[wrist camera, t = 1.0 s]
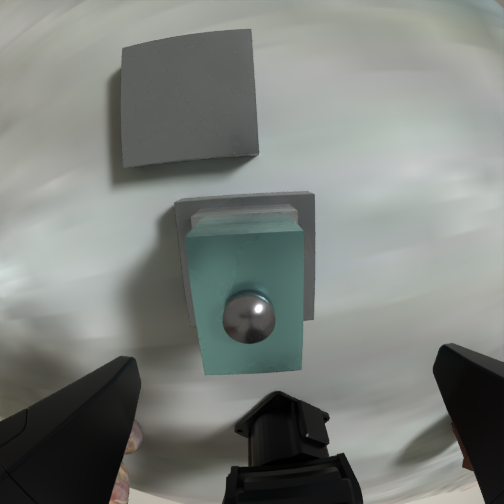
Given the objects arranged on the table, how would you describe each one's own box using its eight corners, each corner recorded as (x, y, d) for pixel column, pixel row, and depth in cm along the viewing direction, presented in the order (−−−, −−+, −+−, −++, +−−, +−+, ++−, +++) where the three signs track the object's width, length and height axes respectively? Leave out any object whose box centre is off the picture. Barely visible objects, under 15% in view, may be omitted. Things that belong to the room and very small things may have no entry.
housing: (290, 314, 18) (310, 385, 12) (212, 319, 18) (197, 390, 12) (288, 203, 17) (316, 226, 10) (200, 208, 17) (170, 234, 10)
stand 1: (257, 155, 18) (259, 154, 16) (134, 167, 18) (123, 167, 16) (250, 41, 15) (251, 28, 14) (133, 57, 15) (122, 48, 14)
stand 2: (307, 306, 20) (313, 320, 19) (194, 312, 20) (190, 326, 19) (307, 191, 18) (314, 193, 16) (181, 198, 18) (174, 202, 16)
